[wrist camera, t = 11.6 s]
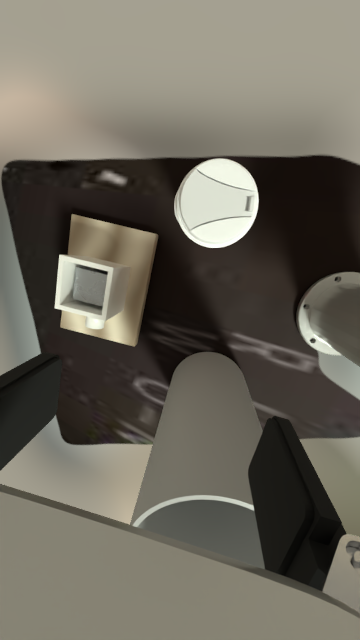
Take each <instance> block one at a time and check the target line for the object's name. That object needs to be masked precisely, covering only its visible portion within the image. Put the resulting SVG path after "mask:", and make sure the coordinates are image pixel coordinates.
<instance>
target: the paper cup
mask: <svg viewBox="0 0 360 640" xmlns="http://www.w3.org/2000/svg"><path fill="white" fill-rule="evenodd" d="M258 203H259V198H258V191H257V186H256V184H255V181H254V179H253V178H252V176H251V174H250V173H249V172H248V171H247V170H246V169H245V168H244V167H243V166H242V165H240V164H238V163H237V162H235V161H232V160H229V159H222V158H220V159H211V160H207V161H205V162H202V163H200V164H199V165H197V166H196V167H194V168H193V169H192V170H191V171H190V172H189V173H188V174H187V175H186V177H185V178H184V180H183V181H182V183H181V185H180V187H179V190H178V191H177V193H176V195H175V202H174V209H175V216H176V218H177V220H178V222H179V224H180V226H181V228H182V230H183V231H184V233H185V234H186V235H187V236H188V237H189V238H190V239H191V240H193V241H194V242H195V243H197V244H199V245H202V246H205V247H210V248H220V247H225V246H228V245H231V244H233V243H234V242H236V241H238V240H239V239H240V238H242V237H243V236H244V235H245V234H246V233H247V231H248V230H249V229H250V228H251V226H252V224H253V222H254V220H255V217H256V215H257V210H258Z"/></svg>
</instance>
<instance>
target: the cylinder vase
mask: <svg viewBox="0 0 360 640" xmlns="http://www.w3.org/2000/svg"><path fill="white" fill-rule="evenodd" d="M261 435H262V429H261V426H260V423H259V420H258V417H257V414H256V411H255V408H254V405H253V402H252V399H251V396H250V393H249V391H248V388H247V385H246V382H245V379H244V376H243V374H242V372H241V370H240V368H239V367H238V366H237V365H236V364H235V363H234V362H233V361H232V360H231V359H229V358H228V357H226V356H224V355H222V354H219V353H214V352H200V353H196V354H193V355H191V356H189V357H187V358H185V359H184V360H183V361H182V362H181V363H180V364H179V365H178V366H177V368H176V369H175V371H174V373H173V376H172V380H171V383H170V387H169V390H168V394H167V397H166V401H165V404H164V408H163V411H162V415H161V418H160V422H159V425H158V429H157V432H156V436H155V439H154V443H153V446H152V450H151V454H150V457H149V460H148V464H147V467H146V471H145V474H144V478H143V481H142V485H141V488H140V492H139V495H138V499H137V503H136V506H135V509H134V513H133V516H132V520H131V523H130V525H132V526H135V527H138V528H141V529H144V530H147V531H151V532H154V533H157V534H160V535H163V536H166V537H169V538H172V539H175V540H178V541H181V542H184V543H187V544H190V545H194V546H197V547H200V548H203V549H206V550H209V551H212V552H215V553H218V554H221V555H224V556H227V557H230V558H233V559H236V560H239V561H242V562H245V563H248V564H251V565H254V566H256V567H259V568H262V569H265V566H264V560H263V555H262V550H261V544H260V539H259V533H258V528H257V522H256V517H255V511H254V506H253V501H252V495H251V490H250V484H249V479H248V468H249V465H250V463H251V460H252V458H253V455H254V453H255V450H256V448H257V445H258V442H259V440H260V437H261Z"/></svg>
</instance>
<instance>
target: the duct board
mask: <svg viewBox="0 0 360 640" xmlns="http://www.w3.org/2000/svg"><path fill="white" fill-rule="evenodd" d="M157 240H158V235H157V234H154V233H150V232H145V231H141V230H137V229H133V228H129V227H124V226H120V225H116V224H112V223H108V222H103V221H99V220H95V219H91V218H87V217H82V216H78V215H74V214H72V217H71V227H70V237H69V247H68V255H77V256H89V257H93V258H97V259H101V260H105V261H109V262H113V263H118V264H122V265H126V266H130V267H131V270H130V276H129V282H128V288H127V293H126V299H125V305H124V311H122V312H120V313H118V314H117V315H115V316H113V317H112V318H110V319H108V320H106V321H105V323H104V328H102V329H91V328H88V327H86V326H85V320H86V316H83V315H79V314H75V313H71V312H68V311H64V310H62V317H61V327H62V328H66V329H69V330H73V331H77V332H81V333H85V334H88V335H92V336H96V337H100V338H104V339H108V340H111V341H115V342H119V343H123V344H127V345H131V346H134V347H135V346H136V344H137V342H138V337H139V332H140V327H141V322H142V317H143V312H144V306H145V301H146V296H147V291H148V286H149V281H150V276H151V271H152V266H153V261H154V255H155V250H156V245H157Z"/></svg>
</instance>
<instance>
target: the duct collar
mask: <svg viewBox="0 0 360 640" xmlns="http://www.w3.org/2000/svg"><path fill="white" fill-rule="evenodd" d="M76 267H92V268H96V269H100V270H104V271H108V275H107V282H106V289H105V296H104V303H103V307H102V306H98V305H94V304H90V303H87V302H83V301H79V300H75V299H73V290H74V281H75V272H76ZM130 270H131V267H130V266H126V265H122V264H118V263H113V262H109V261H105V260H101V259H97V258H93V257H89V256H77V255H59V266H58V278H57V289H56V300H55V308H56V309H60V310H64V311H68V312H71V313H75V314H79V315H83V316H86V320H85V326H86V327H88V328H91V329H102V328H104V323H105V321H106V320H108V319H110V318H112V317H113V316H115V315H117V314H118V313H120V312H122V311H124V305H125V299H126V293H127V288H128V282H129V276H130Z"/></svg>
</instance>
